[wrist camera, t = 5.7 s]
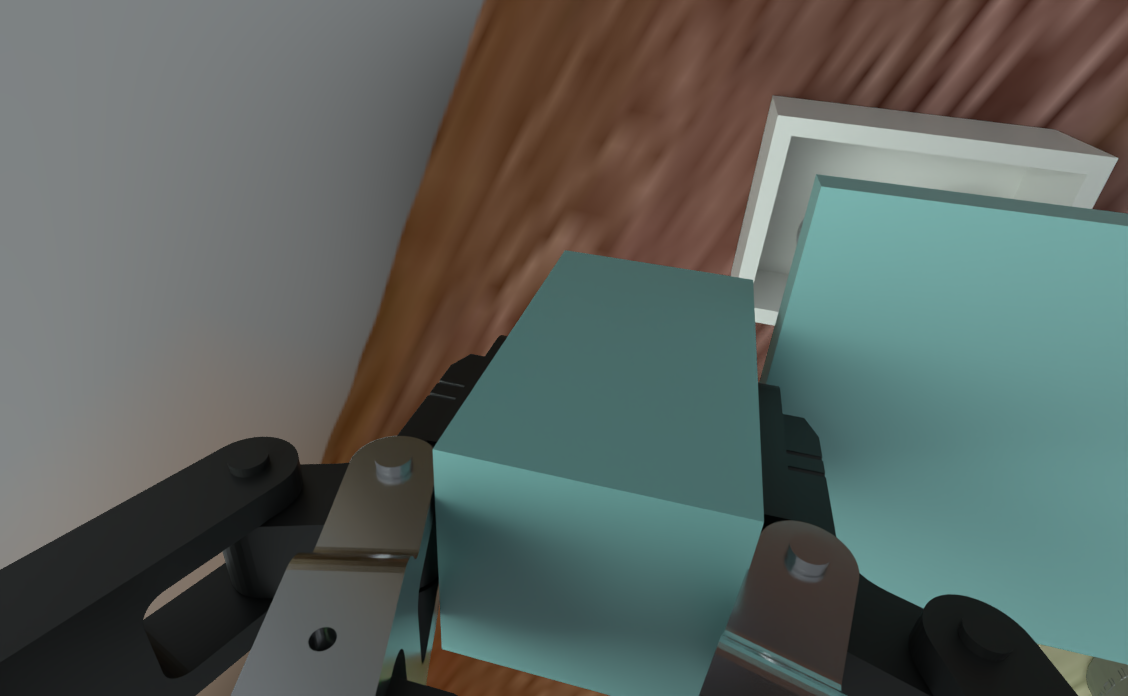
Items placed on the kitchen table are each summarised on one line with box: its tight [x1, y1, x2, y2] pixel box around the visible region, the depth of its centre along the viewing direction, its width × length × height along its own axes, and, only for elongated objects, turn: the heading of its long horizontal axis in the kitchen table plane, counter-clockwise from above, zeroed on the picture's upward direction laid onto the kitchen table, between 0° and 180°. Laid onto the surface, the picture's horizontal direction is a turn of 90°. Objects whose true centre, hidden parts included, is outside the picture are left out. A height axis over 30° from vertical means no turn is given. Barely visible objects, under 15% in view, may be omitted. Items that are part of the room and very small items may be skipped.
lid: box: [433, 174, 1128, 696], centre depth 10 cm, size 16×9×7 cm, turn 86°
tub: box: [731, 96, 1118, 325], centre depth 28 cm, size 12×9×6 cm
